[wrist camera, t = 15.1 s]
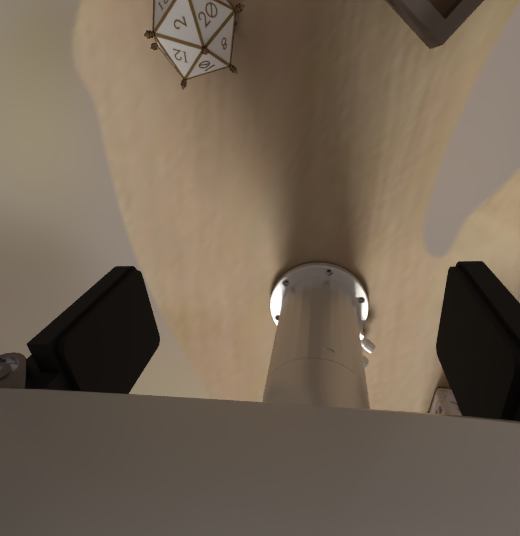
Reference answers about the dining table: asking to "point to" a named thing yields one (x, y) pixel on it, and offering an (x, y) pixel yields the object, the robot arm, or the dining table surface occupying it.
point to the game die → (194, 35)
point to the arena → (434, 17)
